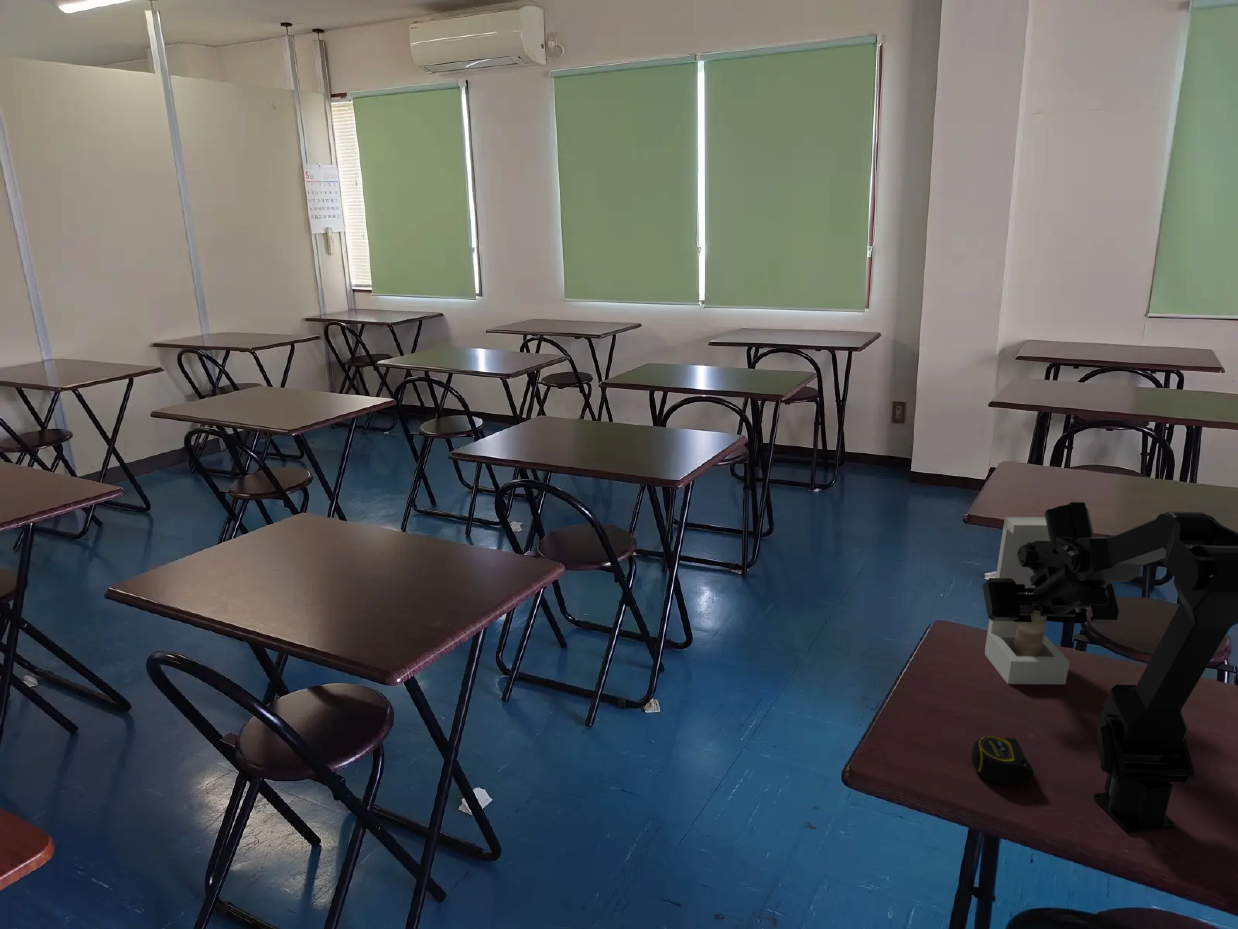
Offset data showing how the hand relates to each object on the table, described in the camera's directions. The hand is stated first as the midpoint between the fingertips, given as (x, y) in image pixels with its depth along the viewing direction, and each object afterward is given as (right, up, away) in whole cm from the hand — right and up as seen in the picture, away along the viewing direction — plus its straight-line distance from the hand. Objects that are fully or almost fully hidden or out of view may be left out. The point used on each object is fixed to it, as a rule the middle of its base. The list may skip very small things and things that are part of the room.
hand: (1028, 617), depth 136 cm
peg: (0, -7, +1) cm, 7 cm away
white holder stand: (0, -9, +1) cm, 9 cm away
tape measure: (-14, -17, -23) cm, 32 cm away
